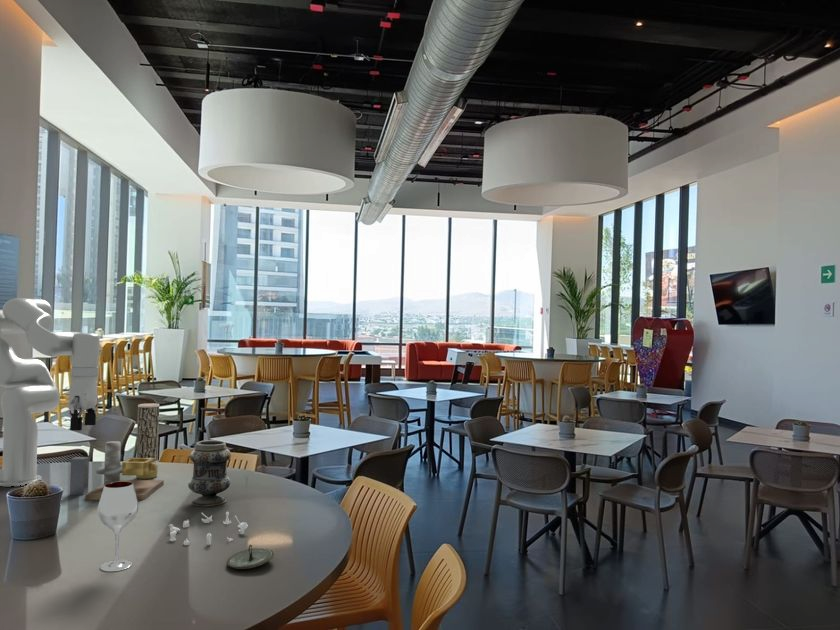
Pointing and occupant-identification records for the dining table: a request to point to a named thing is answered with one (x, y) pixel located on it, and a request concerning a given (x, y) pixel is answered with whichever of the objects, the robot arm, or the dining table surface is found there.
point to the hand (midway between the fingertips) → (83, 427)
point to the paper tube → (148, 434)
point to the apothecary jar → (209, 472)
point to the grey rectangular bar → (79, 475)
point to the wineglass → (117, 516)
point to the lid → (250, 558)
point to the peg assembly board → (125, 472)
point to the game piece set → (186, 542)
